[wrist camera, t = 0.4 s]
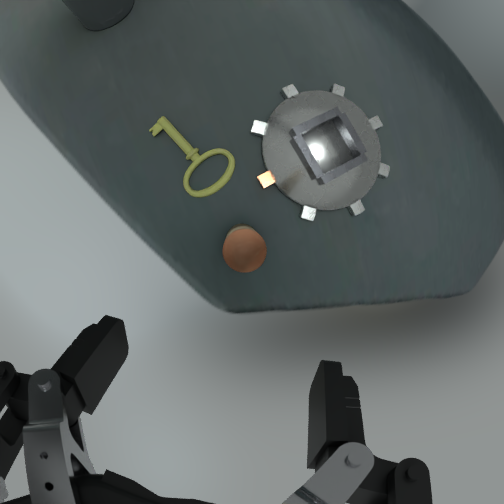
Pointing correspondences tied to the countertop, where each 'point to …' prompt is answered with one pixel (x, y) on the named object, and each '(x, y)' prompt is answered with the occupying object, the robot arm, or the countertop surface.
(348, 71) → the countertop surface
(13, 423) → the robot arm
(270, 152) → the sprocket plate
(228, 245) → the pin
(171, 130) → the key
